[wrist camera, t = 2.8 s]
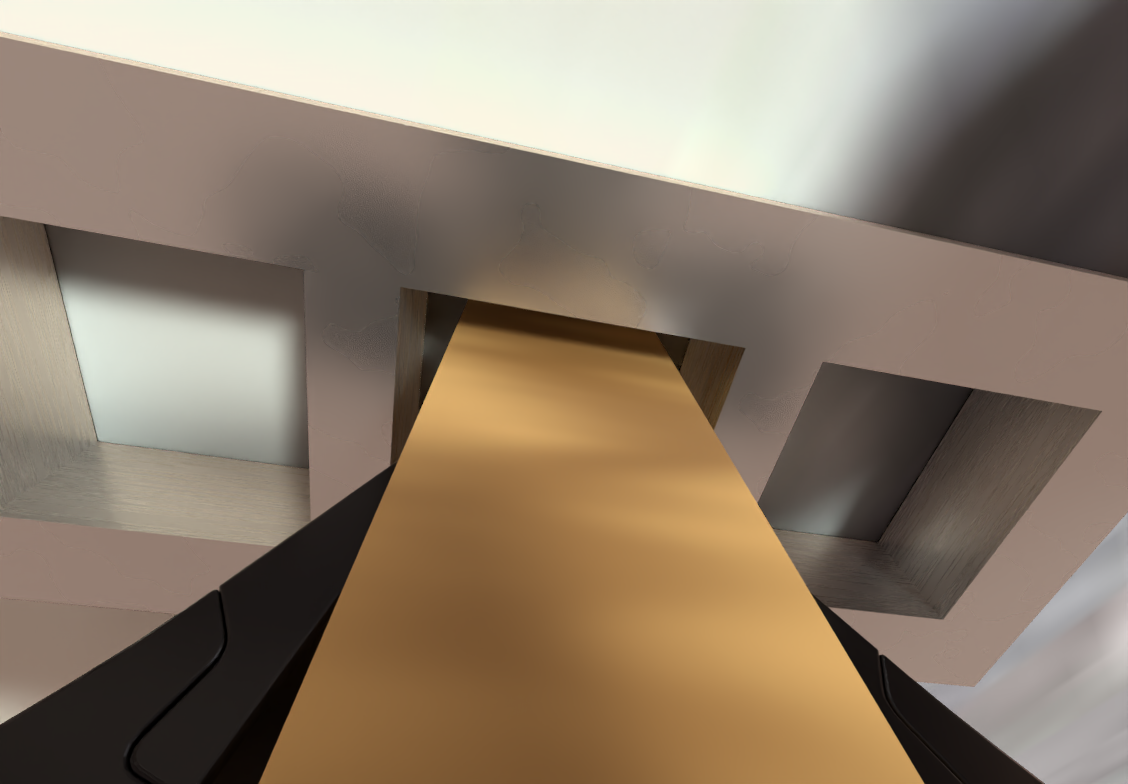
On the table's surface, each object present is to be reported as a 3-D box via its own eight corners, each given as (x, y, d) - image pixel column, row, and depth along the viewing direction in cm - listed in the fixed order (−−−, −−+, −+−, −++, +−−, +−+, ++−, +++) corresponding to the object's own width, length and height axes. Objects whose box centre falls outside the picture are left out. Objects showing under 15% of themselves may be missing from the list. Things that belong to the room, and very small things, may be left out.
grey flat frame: (1140, 280, 11) (1297, 318, 9) (910, 605, 15) (974, 687, 13) (-166, -5, 8) (-449, -62, 6) (15, 505, 12) (-102, 588, 10)
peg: (655, 331, 11) (1188, 1226, 2) (611, 481, 13) (787, 1317, 4) (468, 299, 10) (34, 1304, 1) (449, 459, 12) (198, 1367, 3)
